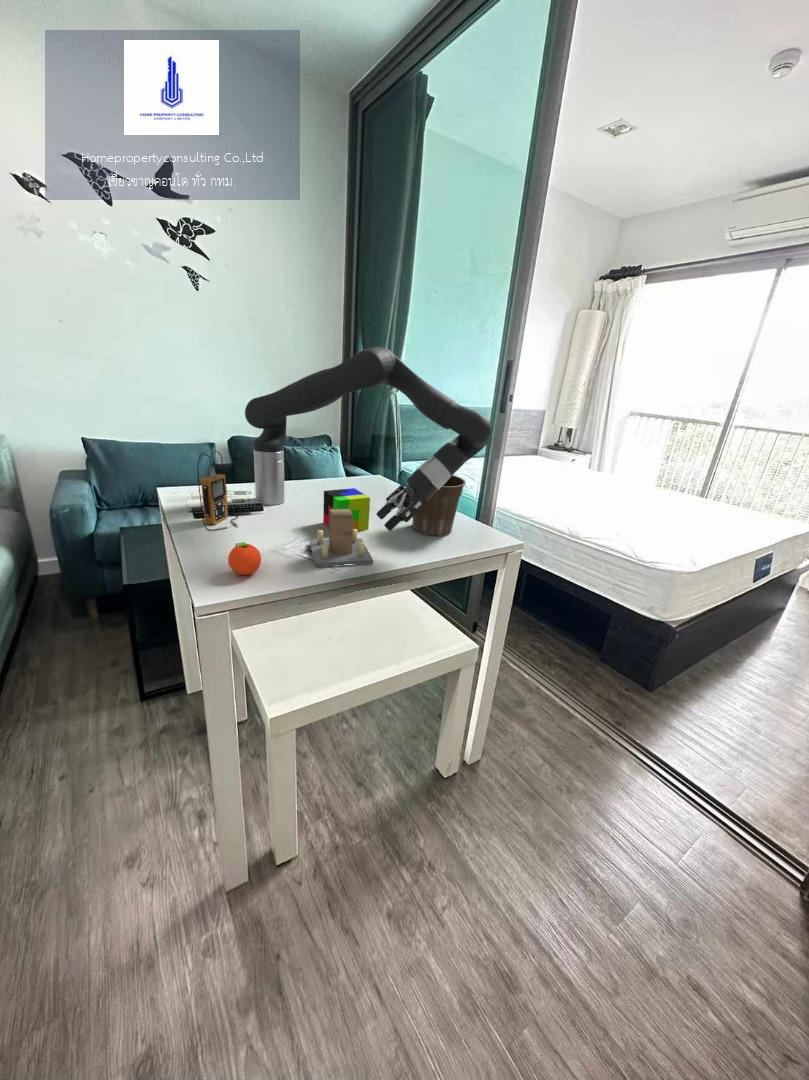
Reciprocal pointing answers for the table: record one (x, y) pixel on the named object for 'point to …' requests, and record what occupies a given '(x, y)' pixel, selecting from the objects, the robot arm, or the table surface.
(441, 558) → the table surface
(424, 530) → the plant pot
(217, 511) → the multimeter
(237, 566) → the clementine
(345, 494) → the puzzle toy
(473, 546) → the table surface
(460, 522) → the table surface
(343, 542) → the walnut block
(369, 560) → the pin plate
